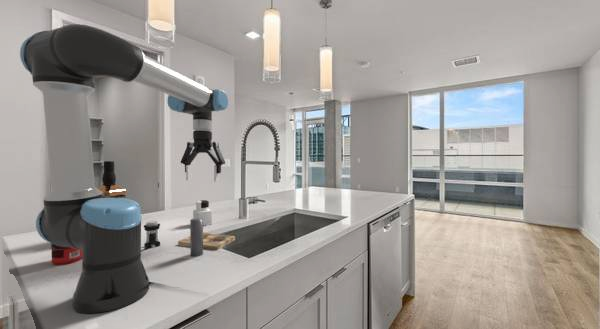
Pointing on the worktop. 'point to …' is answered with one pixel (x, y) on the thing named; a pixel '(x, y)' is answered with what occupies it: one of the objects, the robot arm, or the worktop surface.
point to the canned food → (65, 255)
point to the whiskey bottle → (110, 183)
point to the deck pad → (187, 256)
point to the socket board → (210, 241)
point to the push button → (151, 235)
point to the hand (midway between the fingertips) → (202, 180)
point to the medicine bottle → (203, 212)
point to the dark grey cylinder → (196, 237)
